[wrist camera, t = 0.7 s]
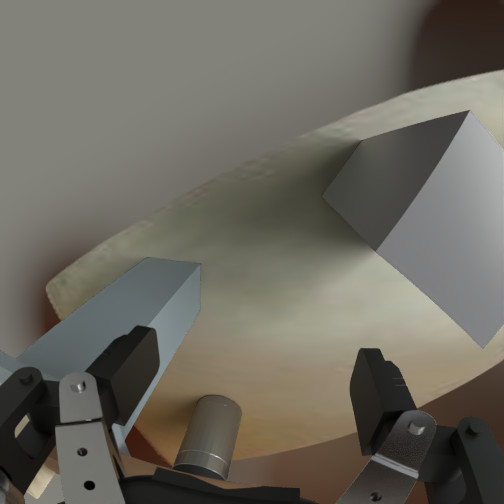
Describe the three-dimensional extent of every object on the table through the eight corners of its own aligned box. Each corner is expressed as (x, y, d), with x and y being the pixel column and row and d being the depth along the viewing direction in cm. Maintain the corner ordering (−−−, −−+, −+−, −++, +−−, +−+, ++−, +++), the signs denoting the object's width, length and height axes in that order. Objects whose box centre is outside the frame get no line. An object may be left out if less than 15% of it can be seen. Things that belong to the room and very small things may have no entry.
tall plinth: (215, 320, 48) (134, 492, 17) (147, 309, 49) (32, 442, 18) (216, 256, 44) (99, 414, 14) (144, 247, 46) (-12, 357, 15)
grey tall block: (423, 193, 38) (556, 238, 12) (384, 246, 41) (482, 349, 15) (362, 140, 37) (470, 109, 12) (321, 196, 40) (375, 251, 14)
